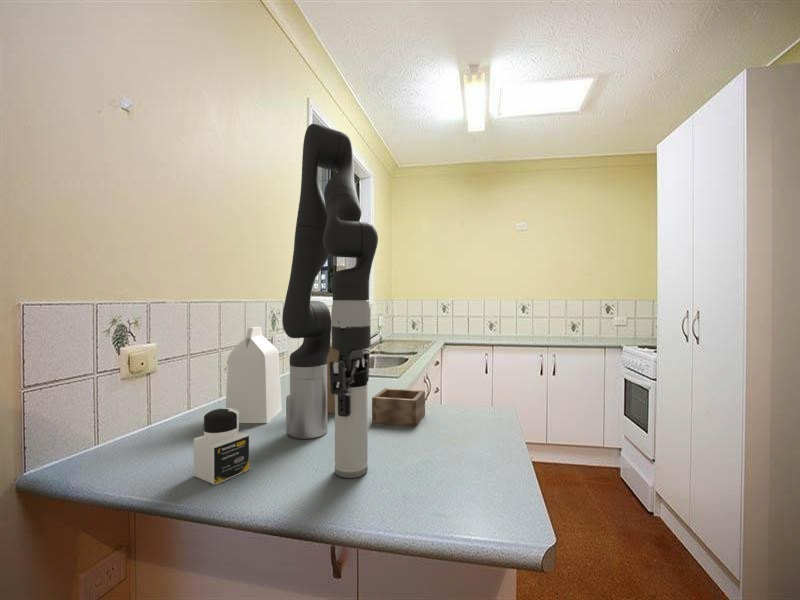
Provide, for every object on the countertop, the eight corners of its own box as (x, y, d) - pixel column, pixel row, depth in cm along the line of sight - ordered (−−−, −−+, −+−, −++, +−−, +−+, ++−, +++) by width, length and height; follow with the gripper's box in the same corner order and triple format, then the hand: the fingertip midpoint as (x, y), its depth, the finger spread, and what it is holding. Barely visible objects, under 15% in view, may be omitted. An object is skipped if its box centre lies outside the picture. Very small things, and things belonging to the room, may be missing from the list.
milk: (266, 423, 99) (266, 328, 99) (224, 423, 99) (224, 328, 99) (281, 410, 111) (281, 325, 111) (244, 411, 111) (244, 326, 111)
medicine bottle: (214, 486, 65) (214, 418, 65) (192, 476, 68) (192, 412, 69) (249, 470, 71) (249, 408, 71) (228, 462, 74) (227, 403, 75)
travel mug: (374, 466, 72) (374, 365, 72) (356, 481, 66) (356, 370, 66) (347, 461, 74) (347, 363, 75) (328, 474, 68) (328, 368, 69)
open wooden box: (372, 422, 99) (371, 397, 99) (384, 410, 110) (384, 388, 110) (416, 426, 95) (416, 400, 96) (425, 413, 106) (424, 390, 106)
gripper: (348, 322, 78) (348, 400, 78) (315, 325, 64) (315, 420, 64) (381, 322, 76) (381, 402, 76) (354, 326, 62) (355, 424, 62)
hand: (351, 410), depth 70 cm, fingers closed on travel mug, 6 cm apart
